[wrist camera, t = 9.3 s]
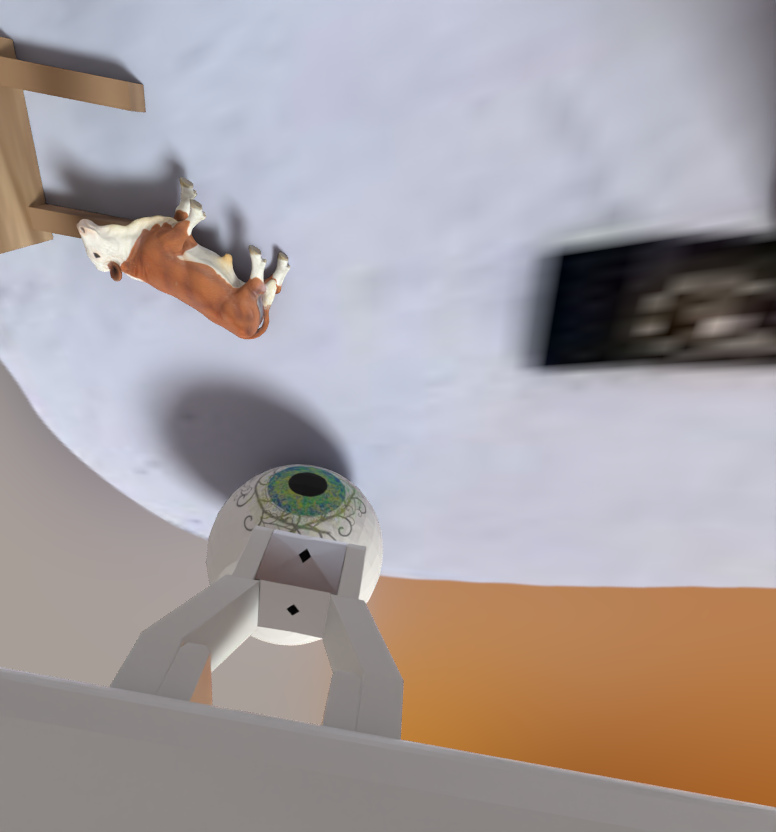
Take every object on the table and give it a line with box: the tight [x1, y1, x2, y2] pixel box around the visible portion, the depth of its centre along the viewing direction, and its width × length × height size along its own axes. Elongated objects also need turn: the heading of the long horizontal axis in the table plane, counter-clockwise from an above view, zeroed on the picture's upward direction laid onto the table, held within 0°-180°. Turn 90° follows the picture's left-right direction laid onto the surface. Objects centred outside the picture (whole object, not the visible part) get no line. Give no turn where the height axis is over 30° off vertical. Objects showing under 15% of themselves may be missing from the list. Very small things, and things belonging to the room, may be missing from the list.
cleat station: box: [0, 37, 146, 254], centre depth 29 cm, size 10×12×6 cm
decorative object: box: [206, 464, 383, 645], centre depth 40 cm, size 15×15×15 cm
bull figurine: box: [77, 177, 290, 339], centre depth 33 cm, size 4×13×8 cm
